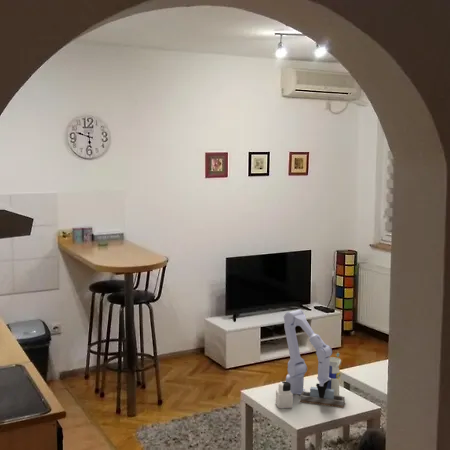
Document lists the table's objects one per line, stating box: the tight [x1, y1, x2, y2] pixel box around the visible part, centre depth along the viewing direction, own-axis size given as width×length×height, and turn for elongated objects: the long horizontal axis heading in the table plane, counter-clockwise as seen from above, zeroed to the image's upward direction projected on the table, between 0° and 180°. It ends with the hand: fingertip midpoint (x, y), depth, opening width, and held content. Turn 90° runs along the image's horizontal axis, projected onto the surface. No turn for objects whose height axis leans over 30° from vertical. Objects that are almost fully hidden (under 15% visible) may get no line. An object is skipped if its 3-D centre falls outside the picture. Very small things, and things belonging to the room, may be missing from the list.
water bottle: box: [327, 351, 342, 396], centre depth 324 cm, size 8×9×25 cm
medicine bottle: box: [275, 380, 294, 409], centre depth 309 cm, size 7×7×12 cm
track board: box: [299, 391, 346, 409], centre depth 315 cm, size 22×8×3 cm, turn 74°
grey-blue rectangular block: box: [309, 386, 334, 399], centre depth 315 cm, size 12×3×6 cm, turn 74°
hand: (322, 394), depth 315 cm, fingers open, 7 cm apart
